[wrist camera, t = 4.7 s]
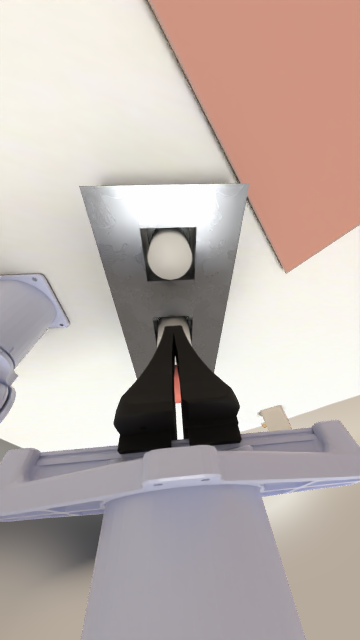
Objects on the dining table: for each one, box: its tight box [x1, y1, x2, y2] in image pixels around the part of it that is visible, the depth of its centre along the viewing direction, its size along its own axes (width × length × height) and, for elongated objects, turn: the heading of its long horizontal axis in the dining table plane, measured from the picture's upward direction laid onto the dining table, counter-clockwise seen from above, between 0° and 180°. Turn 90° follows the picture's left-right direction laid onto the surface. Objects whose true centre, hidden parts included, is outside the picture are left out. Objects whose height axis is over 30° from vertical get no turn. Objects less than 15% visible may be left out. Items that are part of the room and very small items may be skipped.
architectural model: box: [261, 405, 292, 431], centre depth 47 cm, size 3×7×7 cm, turn 122°
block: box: [79, 183, 249, 379], centre depth 23 cm, size 12×28×5 cm, turn 1°
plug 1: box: [148, 227, 192, 280], centre depth 17 cm, size 4×4×5 cm
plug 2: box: [157, 316, 192, 365], centre depth 20 cm, size 4×4×5 cm
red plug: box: [174, 365, 181, 403], centre depth 26 cm, size 4×4×5 cm
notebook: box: [148, 0, 360, 274], centre depth 12 cm, size 27×17×2 cm, turn 42°
